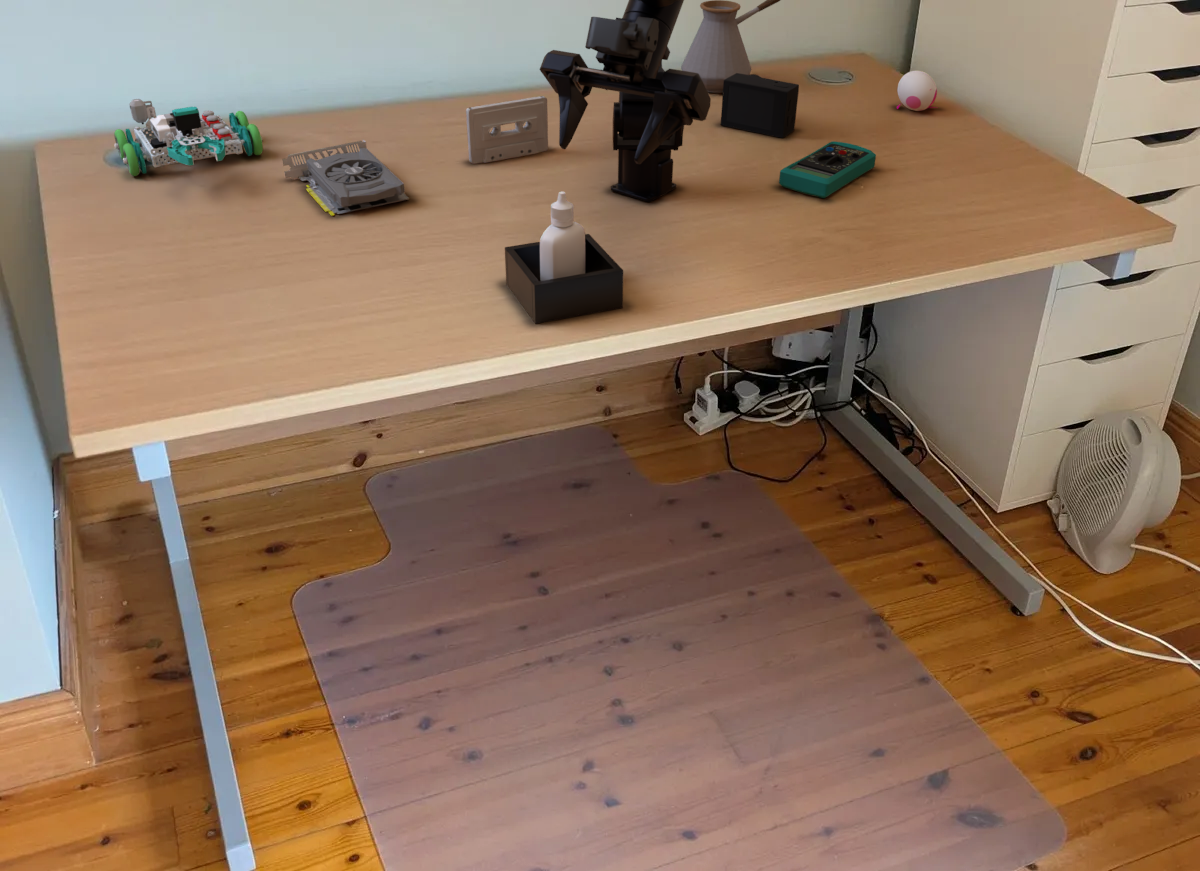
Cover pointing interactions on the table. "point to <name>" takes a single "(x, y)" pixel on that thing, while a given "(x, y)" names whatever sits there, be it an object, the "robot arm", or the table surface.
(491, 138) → the cassette
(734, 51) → the coffee pot
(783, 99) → the digital camera
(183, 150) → the robot kit
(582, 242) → the eye dropper bottle
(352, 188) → the graphics card
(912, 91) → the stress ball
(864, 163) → the digital multimeter
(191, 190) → the table surface
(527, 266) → the holder
